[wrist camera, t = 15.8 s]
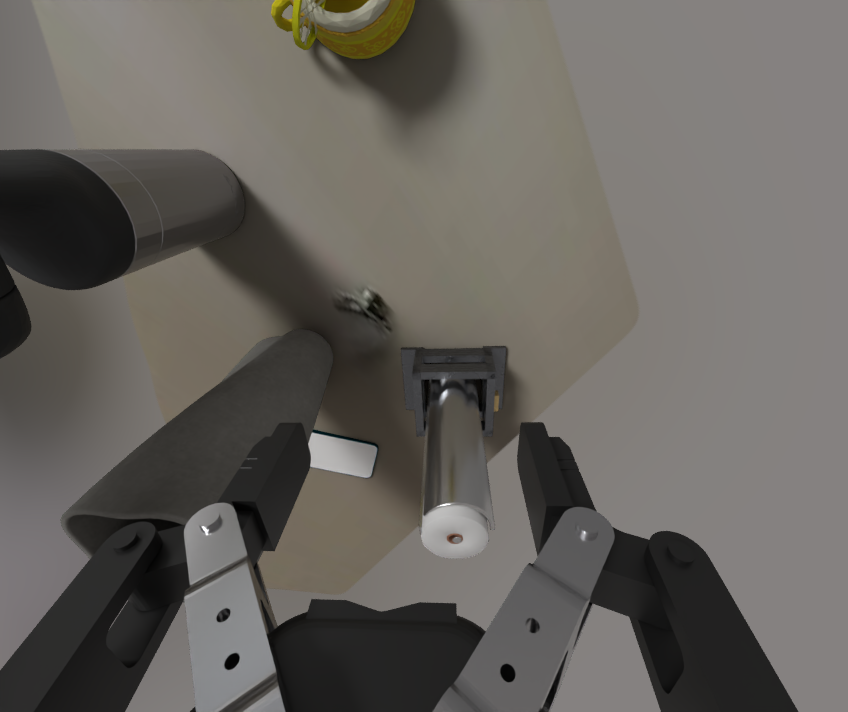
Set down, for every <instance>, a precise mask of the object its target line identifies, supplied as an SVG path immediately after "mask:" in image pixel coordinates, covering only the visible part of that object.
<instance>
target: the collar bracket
mask: <svg viewBox="0 0 848 712" xmlns="http://www.w3.org/2000/svg"><path fill="white" fill-rule="evenodd" d="M401 357H402V368H403V380H404V391H405V403H406V410H415V418H416V432H417V436H425V431H426V417H427V404H426V393H425V379H482V396H481V403H479V410H480V417H482V419H483V421H481V425H482V433H483V436H492V435H493V417H494V411H498V409H502V400H503V386H504V371H505V357H506V346H483V348H462V349H423V347H419V348H401ZM461 362H483V363H468V364H424V363H461Z"/></svg>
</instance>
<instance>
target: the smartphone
mask: <svg viewBox="0 0 848 712" xmlns="http://www.w3.org/2000/svg"><path fill="white" fill-rule="evenodd" d="M308 446H309V449H310V454H311V464H310V467H311V468H316V469H321V470H326V471H331V472H336V473H341V474H346V475H351V476H356V477H361V478H370V477H371V476H372V472H373V468H374V464H375V460H376V456H377V452H378V446H377V445H376V444H375V443H371V442H367V441H362V440H358V439H353V438H349V437H344V436H340V435H335V434H331V433H326V432H321V431H318V430H313V431H312V434H311V437H310V440H309V443H308Z"/></svg>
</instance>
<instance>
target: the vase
mask: <svg viewBox="0 0 848 712" xmlns="http://www.w3.org/2000/svg"><path fill="white" fill-rule="evenodd" d="M332 365H333V352H332V349H331V347H330V345H329V344H328V342H327V341H326V340H325V339H324V338H323V337H322V336H321V335H319V334H317V333H316V332H313V331H311V330H306V329H297V330H293V331H291V332H289V333H287V334H285V335H284V336H281V337H271V338H267V339H264V340H262V341H260V342H259V343H257V344H256V345H255V346H254V347H253V348H252V349H251V350H250V351H249V352H248V353H247V354H246V355H245V356H244V357H243V359H242V360H241V361H240V362H239V363H238V364H237V365H236V366H235V367H234V368H233V369H232V370H231V372H230V373H229V374H228V375H227V376H226V377H225V378H224V379H223V381H222V382H221V383H220V384H218V385H217V386H216V387H214V388H213V389H211V390H210V391H209V392H207V393H206V394H205V395H203V396H202V397H201V398H199V399H198V400H197V401H195V402H194V403H193V404H191V405H190V406H189V407H188V408H186V409H185V410H184V411H183V412H181V413H180V414H179V415H177V416H176V417H175V418H174V419H172V420H171V421H170V422H168V423H167V424H166V425H164V426H163V427H162V428H161V429H159V430H158V431H157V432H156V433H155V434H153V435H152V436H151V437H150V438H148V439H147V440H146V441H145V442H144V443H142V444H141V445H140V446H139V447H138V448H136V449H135V450H134V451H133V452H132V453H130V454H129V455H128V456H127V457H126V458H125V459H124V460H122V461H121V462H120V463H119V464H118V465H117V466H115V467H114V468H113V469H112V470H111V471H110V472H108V473H107V474H106V475H105V476H104V477H103V478H102V479H101V480H100V481H98V482H97V483H96V484H95V485H94V486H93V487H92V488H91V489H89V490H88V491H87V492H86V493H85V494H84V495H83V496H82V497H81V498H80V499H79V500H78V501H77V502H76V503H75V504H74V505H72V506H71V507H70V508H69V509H68V510H67V511H66V512H65V513H64V514H63V515H62V517H61V526H62V528H63V530H64V531H65V533H66V534H67V535H68V537H69V538H70V539H71V540H72V541H73V542H74V543H75V544H76V545H77V546H78V547H79V548H80V549H81V550H82V551H83V552H84V553H85V554H86V555H87V556H88V558H89V559H91V558H92V556H93V555H94V554H95V553H96V551H97V550H98V549H99V548H100V546H101V545H102V544H103V543H104V542H105V541H106V540H107V539H108V538H109V537H110V536H111V535H112V534H114V533H115V532H117V531H118V530H120V529H121V528H123V527H125V526H127V525H130V524H133V523H137V522H149V523H151V524H153V525H154V527H155V529H156V530H157V532H159V531H162V530H166V529H170V528H174V527H178V526H182V525H185V524H187V523H188V521H189V520H190V519H191V517H192V516H193V515H195V514H196V513H197V512H198V511H200V510H201V509H203V508H205V507H207V506H209V505H212V504H215V503H217V502H218V500H219V499H220V497H221V495H222V494H223V492H224V491H225V489H226V488H227V486H228V485H229V483H230V482H231V480H232V479H233V477H234V475H235V474H236V472H237V471H238V469H240V466H241V465H242V463H243V462H244V460H246V457H247V455H248V454H249V452H250V451H251V449H252V448H253V446H254V445H256V444H257V443H258V442H259V441H260V440H262V439H263V438H264V437H271V435H272V434H273V432H274V430H275V429H276V427H277V426H278V424H279V423H302V424H303V427H304V430H305V434H306V438H307V442H308V443H309V440H310V437H311V434H312V431H313V428H314V425H315V422H316V418H317V415H318V412H319V409H320V405H321V402H322V399H323V395H324V392H325V388H326V385H327V382H328V378H329V375H330V371H331V368H332ZM262 553H263V551H261V553H260V555H259V558H258V560H257V562H258V561H259V559H260V557H261V555H262ZM183 602H185V600H183Z"/></svg>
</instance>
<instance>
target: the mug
mask: <svg viewBox="0 0 848 712" xmlns="http://www.w3.org/2000/svg"><path fill="white" fill-rule="evenodd" d="M290 4H291V5H292V6H293V15H292V19H289V20H287V19H285V18H283V17H282V16H281V15H282V13H283V11H284V10H285V9H286V8H287V7H288V6H289V5H290ZM414 5H415V0H275V2H274V3H273V5H272V11H271V15H272V17H273V19H274V21H275V23H276V24H277V26H278V27H279V28H281V29H283V30H285V31H287V32H288V31H293V37H294V41H295V44H296V45H297V46H298V47H300V48H302V49H303V50H308V49H309V48H310V47H311V46H312V44H313V43H314V41H315V39H316V38H317V39H318V40H319V41H320V42H321V43H322V44H324V45H325V46H326V47H328V48H329V49H330V50H332V51H334V52H336V53H337V54H339V55H341V56H344V57H348V58H352V59H369V58H371V57H374V56H377V55H380V54H382V53H384V52H385V51H386V50H387V49H389V48H390V47H391V46H393V45H394V44H395V43H396V42H397V40H398V39H399V38H400V36H401V35H402V33H403V32H404V31H405V29H406V27H407V25H408V23H409V20H410V18H411V15H412V13H413V10H414ZM304 26H306V27H307V28H308V31H307V35H306V39H305V41H304V42H303V43H302V41H301V37H302V31H303V27H304ZM300 28H302V29H301V33H300ZM309 29H310V34H309V36H308V32H309ZM307 37H308V38H307Z"/></svg>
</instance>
